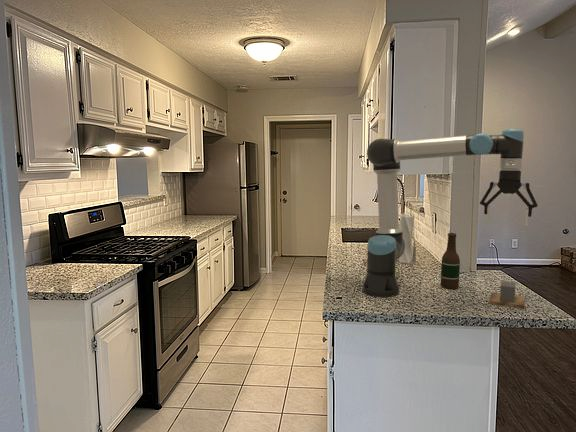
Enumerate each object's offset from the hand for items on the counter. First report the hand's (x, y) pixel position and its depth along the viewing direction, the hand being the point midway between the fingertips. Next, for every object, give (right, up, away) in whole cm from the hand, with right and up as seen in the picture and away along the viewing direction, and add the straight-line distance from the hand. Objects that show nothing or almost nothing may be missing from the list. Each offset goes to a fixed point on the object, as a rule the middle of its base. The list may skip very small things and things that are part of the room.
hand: (506, 223), depth 172 cm
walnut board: (0, -31, +1) cm, 31 cm away
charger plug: (0, -30, 0) cm, 30 cm away
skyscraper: (-23, -22, +63) cm, 71 cm away
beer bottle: (-15, -28, +20) cm, 38 cm away
